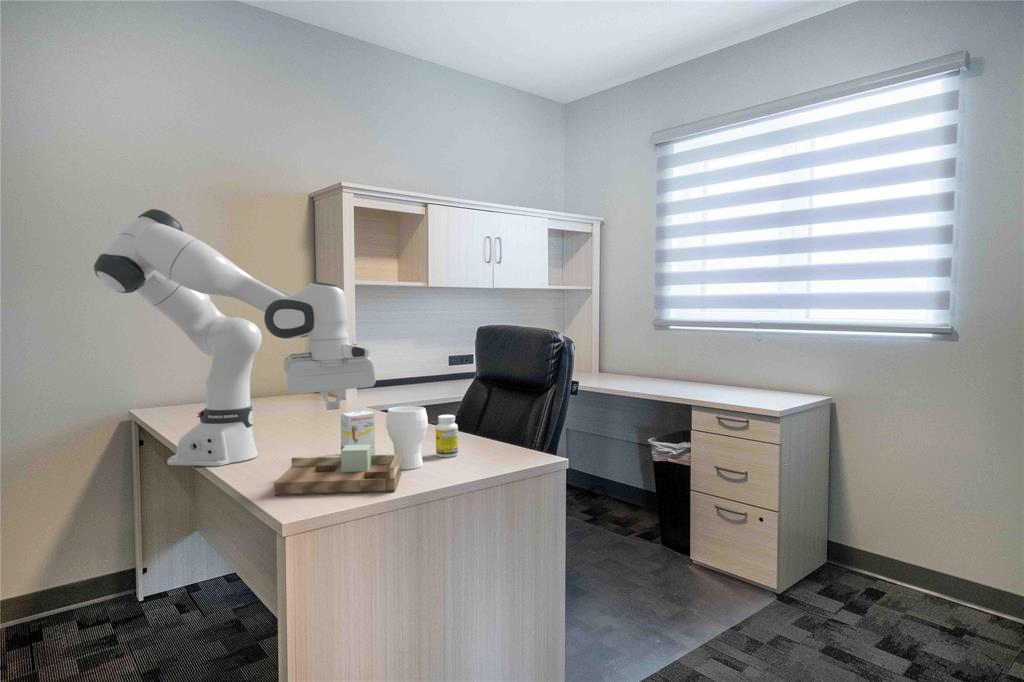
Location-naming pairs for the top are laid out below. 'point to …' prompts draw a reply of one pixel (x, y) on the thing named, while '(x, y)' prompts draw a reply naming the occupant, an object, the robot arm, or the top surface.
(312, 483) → the wooden tray
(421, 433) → the cup
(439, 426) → the pill bottle
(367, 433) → the ink box
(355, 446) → the block
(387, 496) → the top surface
